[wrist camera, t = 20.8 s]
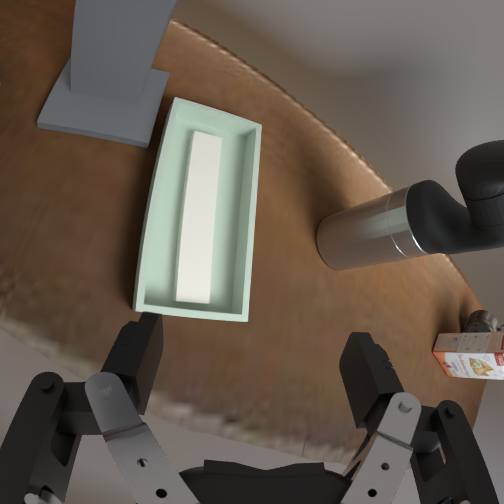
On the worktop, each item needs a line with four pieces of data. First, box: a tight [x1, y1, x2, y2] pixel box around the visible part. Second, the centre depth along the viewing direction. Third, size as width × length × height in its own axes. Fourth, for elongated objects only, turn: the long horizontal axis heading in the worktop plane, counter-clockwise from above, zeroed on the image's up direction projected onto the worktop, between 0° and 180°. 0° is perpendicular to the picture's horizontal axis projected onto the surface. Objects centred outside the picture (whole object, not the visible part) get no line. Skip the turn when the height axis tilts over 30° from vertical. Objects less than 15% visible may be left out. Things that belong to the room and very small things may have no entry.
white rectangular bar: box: [173, 131, 222, 304], centre depth 37 cm, size 4×22×2 cm, turn 177°
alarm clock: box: [461, 310, 504, 333], centre depth 63 cm, size 11×5×16 cm, turn 31°
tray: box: [132, 97, 262, 322], centre depth 37 cm, size 13×27×4 cm, turn 175°
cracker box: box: [432, 332, 504, 380], centre depth 54 cm, size 14×6×21 cm, turn 51°
